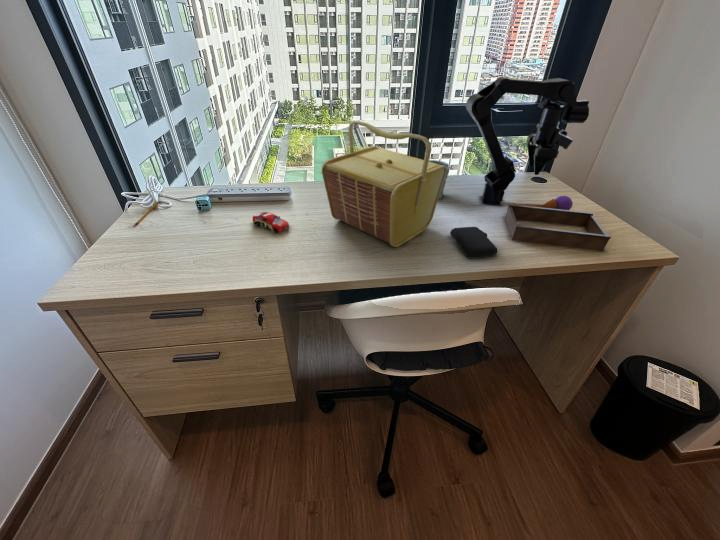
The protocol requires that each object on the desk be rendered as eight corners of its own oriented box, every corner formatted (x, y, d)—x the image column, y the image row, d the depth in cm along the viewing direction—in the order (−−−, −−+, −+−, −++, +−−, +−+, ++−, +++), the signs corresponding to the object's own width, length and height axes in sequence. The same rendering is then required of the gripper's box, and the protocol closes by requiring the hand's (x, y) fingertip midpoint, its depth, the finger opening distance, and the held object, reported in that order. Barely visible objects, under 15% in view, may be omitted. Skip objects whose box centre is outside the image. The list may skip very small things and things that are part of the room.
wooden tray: (511, 240, 101) (516, 226, 98) (504, 217, 114) (508, 203, 111) (603, 251, 97) (611, 237, 94) (586, 226, 109) (592, 212, 106)
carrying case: (502, 258, 93) (479, 232, 105) (505, 249, 91) (481, 223, 103) (466, 261, 92) (447, 234, 103) (469, 252, 90) (449, 225, 102)
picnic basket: (440, 226, 108) (458, 129, 90) (391, 258, 92) (400, 149, 74) (373, 199, 123) (377, 112, 106) (321, 223, 108) (315, 125, 90)
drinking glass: (412, 192, 129) (416, 162, 122) (433, 188, 133) (438, 158, 126) (428, 202, 122) (433, 171, 115) (450, 197, 126) (456, 166, 119)
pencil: (135, 227, 104) (134, 225, 104) (133, 227, 104) (132, 225, 104) (160, 201, 119) (160, 199, 119) (158, 201, 119) (158, 199, 119)
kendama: (511, 197, 117) (567, 193, 117) (509, 214, 120) (564, 209, 120) (519, 201, 112) (578, 197, 112) (516, 218, 114) (574, 214, 114)
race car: (293, 229, 105) (291, 217, 102) (280, 236, 101) (279, 224, 99) (263, 217, 110) (261, 206, 108) (250, 224, 107) (248, 213, 104)
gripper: (585, 132, 99) (565, 182, 108) (567, 118, 114) (551, 163, 123) (545, 129, 101) (529, 178, 110) (533, 116, 116) (519, 161, 125)
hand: (533, 170), depth 117 cm, fingers open, 9 cm apart
